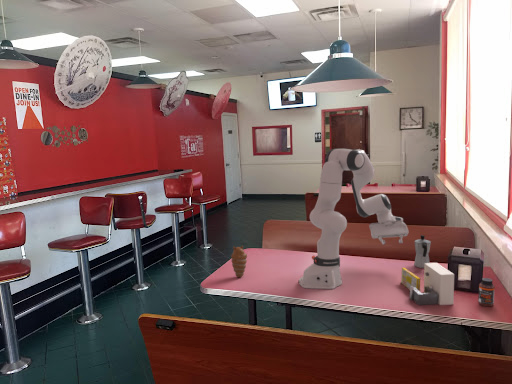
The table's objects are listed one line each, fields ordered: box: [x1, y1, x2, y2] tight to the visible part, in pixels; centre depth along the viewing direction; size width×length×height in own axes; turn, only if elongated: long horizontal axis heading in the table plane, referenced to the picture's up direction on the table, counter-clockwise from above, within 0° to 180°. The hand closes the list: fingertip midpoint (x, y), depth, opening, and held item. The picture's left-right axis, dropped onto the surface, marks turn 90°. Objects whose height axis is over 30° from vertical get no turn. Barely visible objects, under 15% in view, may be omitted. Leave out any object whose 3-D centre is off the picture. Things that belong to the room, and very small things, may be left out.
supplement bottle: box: [477, 277, 496, 307], centre depth 172 cm, size 6×6×11 cm
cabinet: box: [423, 262, 455, 306], centre depth 180 cm, size 7×16×14 cm, turn 1°
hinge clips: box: [409, 285, 438, 306], centre depth 178 cm, size 11×8×6 cm
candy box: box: [400, 267, 421, 292], centre depth 192 cm, size 16×2×8 cm, turn 5°
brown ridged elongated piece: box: [230, 245, 248, 278], centre depth 217 cm, size 9×8×18 cm
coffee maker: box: [413, 234, 432, 269], centre depth 223 cm, size 15×9×18 cm, turn 168°
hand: (392, 243), depth 216 cm, fingers open, 8 cm apart
